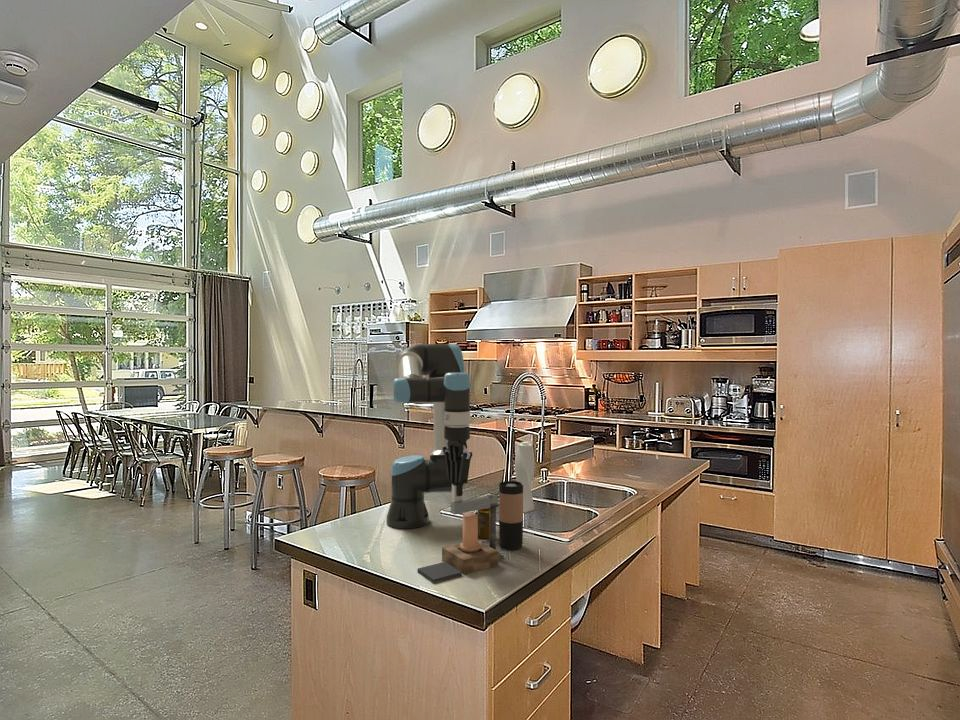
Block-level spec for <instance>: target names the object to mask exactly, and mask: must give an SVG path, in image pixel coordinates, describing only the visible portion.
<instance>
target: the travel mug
mask: <svg viewBox="0 0 960 720" xmlns="http://www.w3.org/2000/svg"><path fill="white" fill-rule="evenodd" d="M498 485H499V492H498V496H499V506H498V531H499V533H498V534H499V535H498V536H499V538H498V539H499V548H500V549H501V550H505V551H508V552H509V551H512V552H513V551H514V552H515V551H518V550H521V549H523V540H524V539H523V537H524V536H523V534H524V513H523V485H522V484H521V483H520V482H517V481H515V480H506V481H505V480H504V481H501V482H500V483H499V484H498Z"/></svg>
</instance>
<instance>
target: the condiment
mask: <svg viewBox="0 0 960 720" xmlns="http://www.w3.org/2000/svg"><path fill="white" fill-rule="evenodd" d="M477 515H478V541H480V542H482V543H483V542H487V541H488V542H489V508H486V509H481V510H477ZM497 539H499V535H497V534H496V540H497Z"/></svg>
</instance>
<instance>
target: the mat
mask: <svg viewBox="0 0 960 720" xmlns="http://www.w3.org/2000/svg"><path fill="white" fill-rule="evenodd" d="M417 573H418V574H420V575H421V576H422V577H424V578H425V579H426V580H428V581H429V582H431V583H432V584H437V583H440V582H443V581H447V580H451V579H454V578H458V577H462V575H463V573H462V572H461V571H459V570H458V569H456V568H454V567H453V566H451V565H450V564H448V563H446V562H443V561H442V562H439V563H434V564H431V565H426V566H422V567H418V568H417Z"/></svg>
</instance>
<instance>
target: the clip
mask: <svg viewBox="0 0 960 720" xmlns="http://www.w3.org/2000/svg"><path fill="white" fill-rule="evenodd" d="M486 508H496V509H497V508H499V494H487V495H485V496H479V497H474V498H469V499H468V498H467V499H462V501H456V502H452V501H451V502H450V513H451V514H452V515H459V514H466V513H471V512H475V511H478V510H481V509H486Z"/></svg>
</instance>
